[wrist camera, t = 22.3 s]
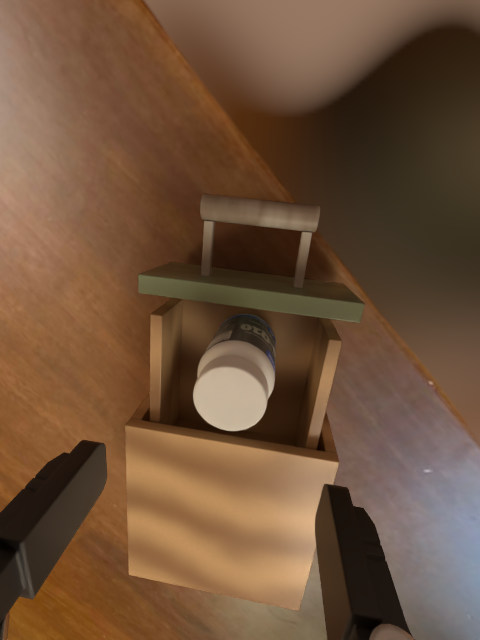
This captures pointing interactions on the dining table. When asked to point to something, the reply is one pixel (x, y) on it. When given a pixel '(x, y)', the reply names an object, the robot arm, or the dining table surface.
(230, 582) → the cabinet
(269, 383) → the pill bottle
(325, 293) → the drawer
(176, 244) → the dining table surface
